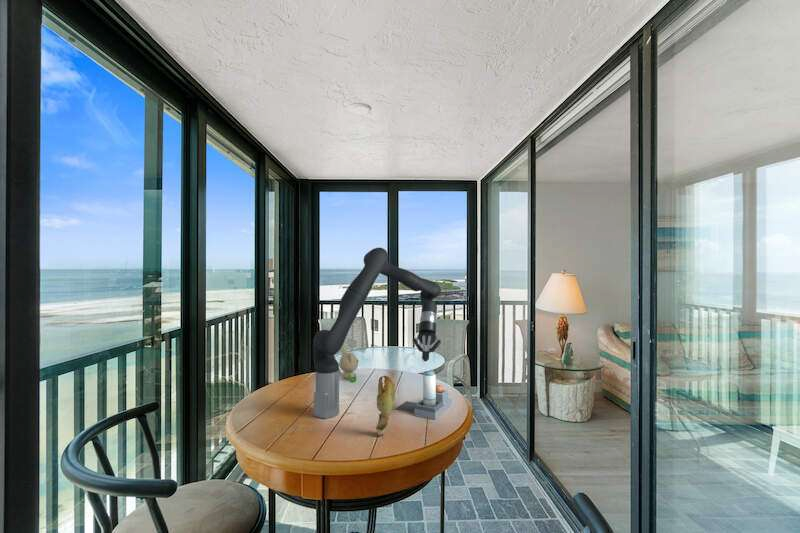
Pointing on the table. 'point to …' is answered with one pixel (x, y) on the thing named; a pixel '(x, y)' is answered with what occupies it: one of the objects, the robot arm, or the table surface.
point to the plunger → (439, 389)
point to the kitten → (348, 365)
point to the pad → (407, 406)
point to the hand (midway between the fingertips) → (425, 360)
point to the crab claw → (384, 403)
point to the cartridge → (429, 389)
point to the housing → (435, 412)
